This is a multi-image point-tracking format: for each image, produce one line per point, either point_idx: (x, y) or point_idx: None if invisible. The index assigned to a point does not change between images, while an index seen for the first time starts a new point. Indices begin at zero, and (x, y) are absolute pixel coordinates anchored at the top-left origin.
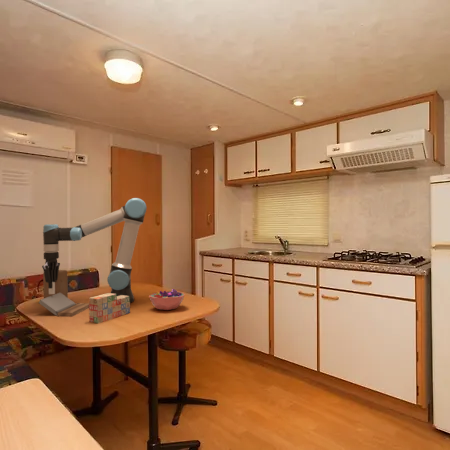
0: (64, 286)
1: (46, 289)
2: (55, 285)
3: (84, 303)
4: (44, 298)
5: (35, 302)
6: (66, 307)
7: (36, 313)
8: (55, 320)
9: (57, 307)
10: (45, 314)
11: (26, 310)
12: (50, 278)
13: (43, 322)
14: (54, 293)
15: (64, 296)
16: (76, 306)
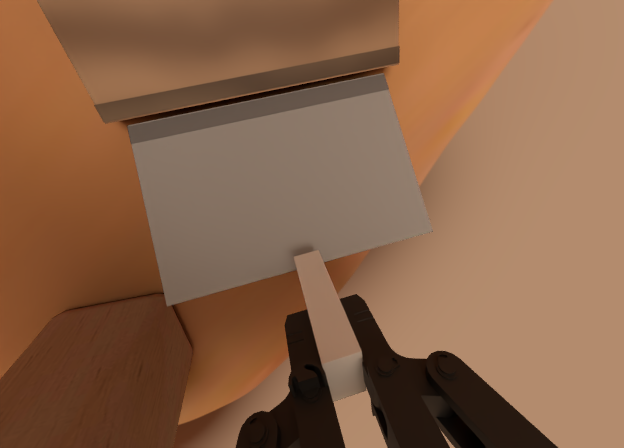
0: (7, 423)
1: (167, 433)
2: (119, 435)
3: (68, 42)
4: (390, 241)
5: None
6: (268, 107)
7: None
8: (461, 7)
9: (349, 124)
10: None
11: None
12: (472, 415)
13: (491, 61)
14: (301, 256)
15: (169, 244)
16: (202, 41)
